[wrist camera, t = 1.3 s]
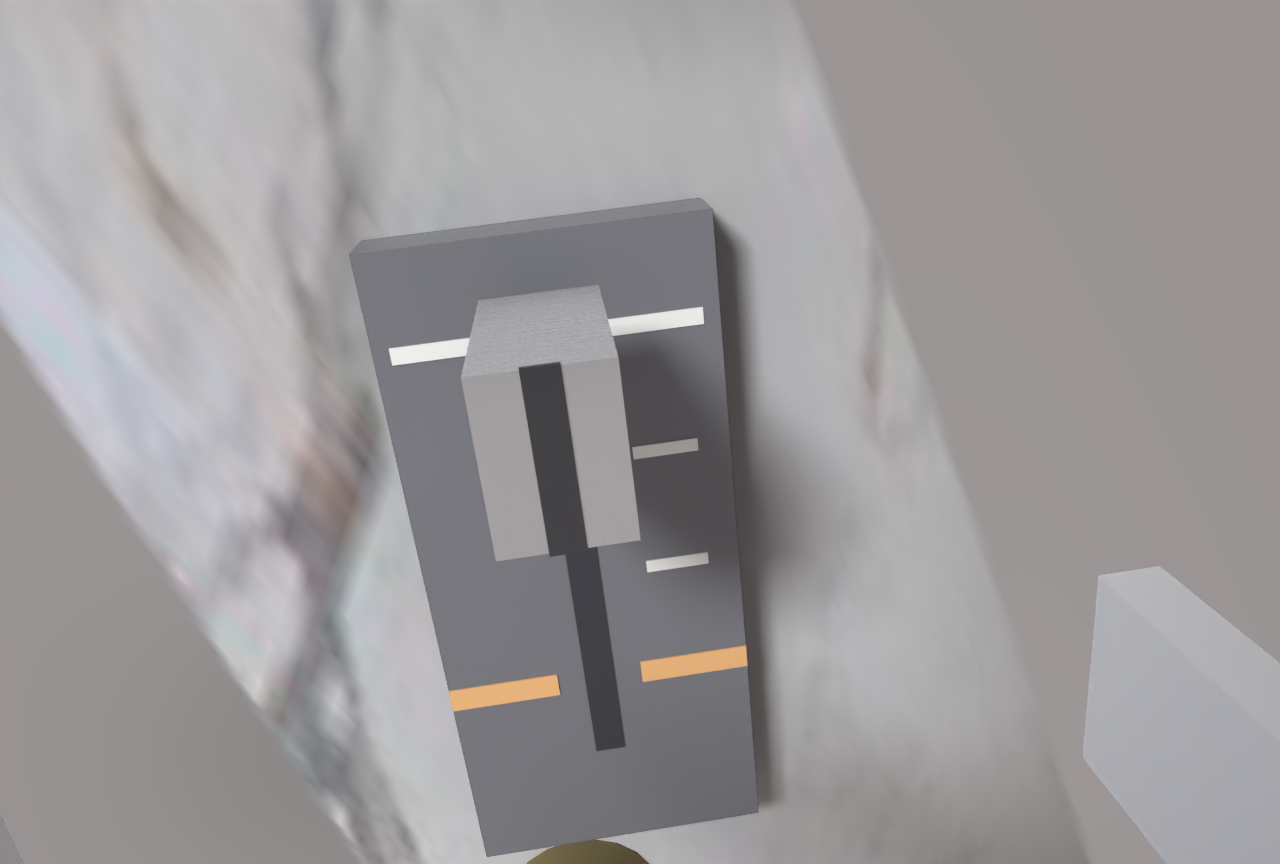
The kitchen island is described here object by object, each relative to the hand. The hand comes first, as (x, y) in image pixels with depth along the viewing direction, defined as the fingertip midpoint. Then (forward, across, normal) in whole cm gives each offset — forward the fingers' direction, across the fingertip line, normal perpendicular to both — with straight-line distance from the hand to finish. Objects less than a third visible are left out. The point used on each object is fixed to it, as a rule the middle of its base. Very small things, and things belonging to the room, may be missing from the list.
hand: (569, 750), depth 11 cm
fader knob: (+17, 0, 0) cm, 17 cm away
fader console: (+19, 0, -8) cm, 21 cm away
